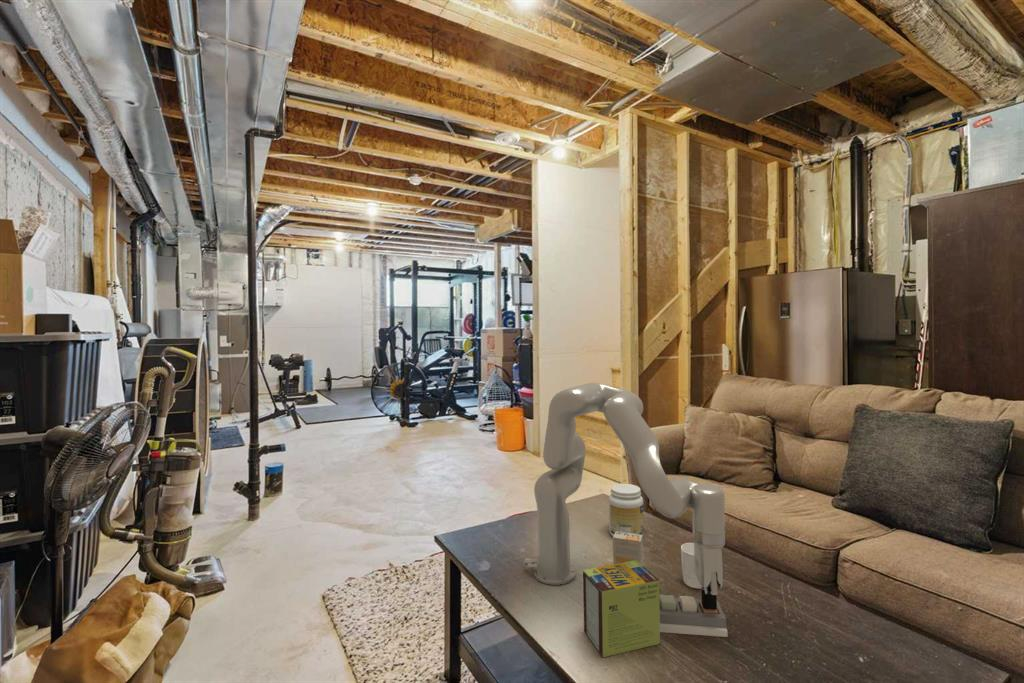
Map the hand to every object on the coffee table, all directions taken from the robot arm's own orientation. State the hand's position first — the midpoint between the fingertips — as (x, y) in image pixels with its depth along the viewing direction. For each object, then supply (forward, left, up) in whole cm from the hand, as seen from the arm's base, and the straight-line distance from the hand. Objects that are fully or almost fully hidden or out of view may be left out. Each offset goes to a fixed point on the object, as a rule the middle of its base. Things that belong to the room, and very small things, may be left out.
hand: (709, 607), depth 119 cm
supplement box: (-18, +19, -4) cm, 27 cm away
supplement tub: (-16, +49, -4) cm, 52 cm away
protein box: (-22, -8, -4) cm, 24 cm away
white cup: (+1, +19, -4) cm, 20 cm away
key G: (0, 0, -3) cm, 3 cm away
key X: (-5, 0, -1) cm, 5 cm away
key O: (-10, 0, -1) cm, 10 cm away
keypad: (-5, 0, -4) cm, 7 cm away
